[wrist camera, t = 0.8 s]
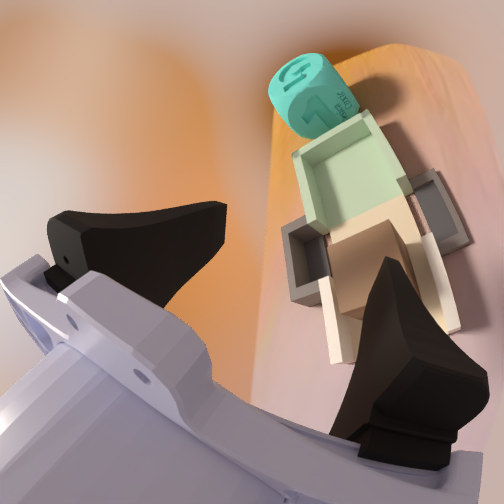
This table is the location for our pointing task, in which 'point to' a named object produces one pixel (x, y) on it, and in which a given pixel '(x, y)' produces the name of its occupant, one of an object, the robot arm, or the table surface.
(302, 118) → the decorative dice
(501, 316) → the table surface
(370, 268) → the walnut cube
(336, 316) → the tray
